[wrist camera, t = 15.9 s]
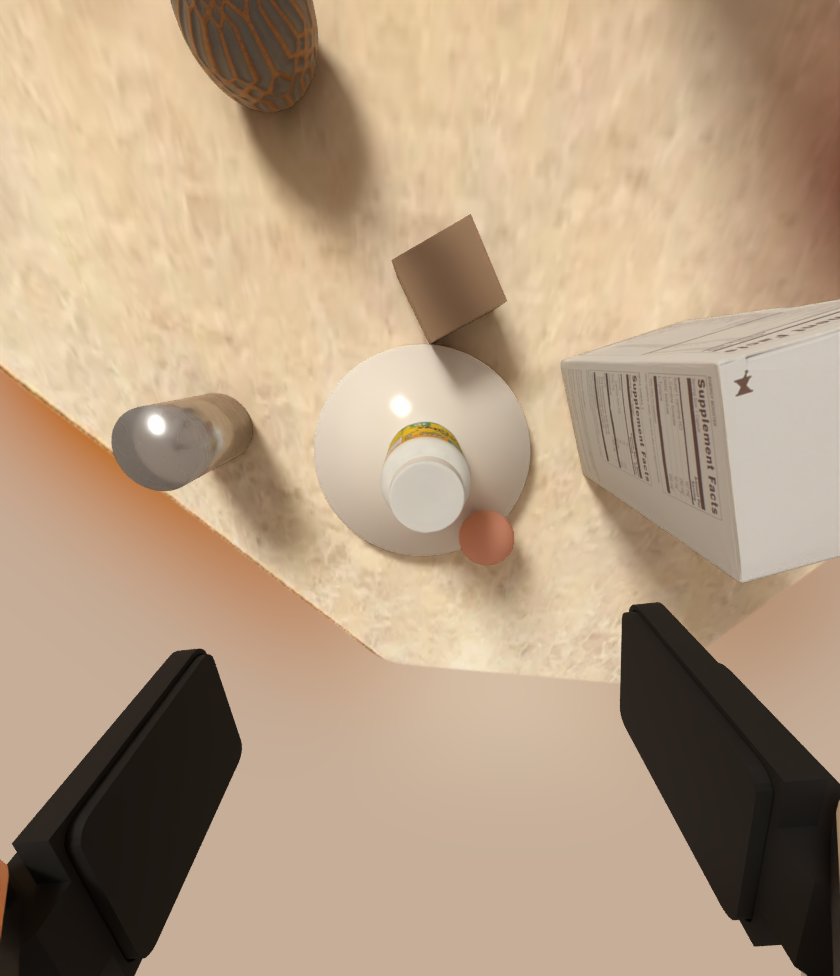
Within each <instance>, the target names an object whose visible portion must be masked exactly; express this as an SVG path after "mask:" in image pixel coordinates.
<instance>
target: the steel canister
mask: <svg viewBox="0 0 840 976" xmlns="http://www.w3.org/2000/svg"><path fill="white" fill-rule="evenodd" d="M252 434H253V428H252V422H251V419H250V417H249V415H248V413H247V411H246V410H245V408H244V407H243V406H242V405H241V404H240V403H239V402H238V401H236V400H235V399H233V398H231V397H229V396H227V395H224V394H219V393H211V394H205V395H200V396H194V397H189V398H184V399H179V400H173V401H168V402H163V403H158V404H152V405H147V406H142V407H137V408H134V409H131V410H129V411H127V412H126V413H124V414H123V415H122V416H121V417H120V418H119V419H118V421H117V422H116V424H115V426H114V429H113V432H112V449H113V453H114V456H115V459H116V461H117V462H118V464H119V466H120V467H121V469H122V470H123V471H124V472H125V473H126V475H127V476H128V477H130V478H131V479H132V480H133V481H135V482H136V483H138V484H140V485H142V486H144V487H146V488H149V489H152V490H157V491H170V490H175V489H178V488H180V487H182V486H184V485H186V484H188V483H190V482H191V481H193V480H195V479H197V478H199V477H200V476H202V475H204V474H206V473H208V472H209V471H211V470H213V469H215V468H217V467H218V466H220V465H222V464H224V463H226V462H227V461H229V460H231V459H233V458H235V457H236V456H238V455H240V454H241V453H243V452H244V451H245V450H246V449H247V447H248V446H249V444H250V442H251V439H252Z"/></svg>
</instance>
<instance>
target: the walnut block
mask: <svg viewBox="0 0 840 976" xmlns="http://www.w3.org/2000/svg"><path fill="white" fill-rule="evenodd" d="M392 263H393V266H394V269H395V272H396V275H397V278H398V280H399V282H400V284H401V286H402V288H403V290H404V292H405V294H406V296H407V298H408V301H409V303H410V305H411V307H412V309H413V311H414V313H415V315H416V317H417V319H418V321H419V323H420V325H421V328H422V330H423V332H424V334H425V336H426V338H427V340H428V342H429V344H432V343H434V342H436V341H437V340H439V339H441V338H443V337H445V336H447V335H448V334H450V333H452V332H454V331H456V330H458V329H459V328H461V327H463V326H465V325H467V324H469V323H471V322H472V321H474V320H476V319H478V318H480V317H482V316H483V315H485V314H487V313H489V312H491V311H493V310H494V309H496V308H497V307H499V306H500V305H502V304H503V303H505V302H506V301H507V300H506V297H505V295H504V293H503V290H502V288H501V285H500V283H499V281H498V278H497V276H496V273H495V271H494V269H493V266H492V264H491V261H490V259H489V257H488V254H487V252H486V249H485V247H484V245H483V242H482V240H481V238H480V235H479V233H478V230H477V228H476V226H475V223H474V221H473V218H472V216H471V214H470V215H468V216H467V217H465V218H463V219H461V220H460V221H458V222H456V223H455V224H453V225H451V226H449V227H448V228H446V229H444V230H443V231H441V232H439V233H437V234H436V235H434V236H432V237H431V238H429V239H427V240H425V241H424V242H422V243H420V244H419V245H417V246H415V247H413V248H412V249H410V250H408V251H407V252H405V253H403V254H401V255H400V256H398V257H396V258H395V259H393V260H392Z"/></svg>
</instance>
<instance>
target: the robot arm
mask: <svg viewBox="0 0 840 976" xmlns="http://www.w3.org/2000/svg"><path fill="white" fill-rule="evenodd" d="M620 712H621V716H622V720H623V723H624V726H625V728H626V729H627V731H628V733H629V735H630V737H631V739H632V741H633V743H634V744H635V746H636V748H637V750H638V752H639V754H640V756H641V758H642V759H643V761H644V763H645V765H646V767H647V769H648V770H649V772H650V774H651V776H652V778H653V780H654V782H655V784H656V785H657V787H658V789H659V791H660V793H661V795H662V797H663V798H664V800H665V802H666V804H667V806H668V808H669V810H670V811H671V813H672V815H673V817H674V819H675V821H676V823H677V824H678V826H679V828H680V830H681V832H682V834H683V836H684V838H685V839H686V841H687V843H688V845H689V847H690V849H691V851H692V852H693V854H694V856H695V858H696V860H697V862H698V864H699V865H700V867H701V869H702V871H703V873H704V875H705V876H706V878H707V880H708V882H709V884H710V886H711V888H712V890H713V892H714V893H715V895H716V897H717V899H718V901H719V903H720V905H721V906H722V908H723V910H724V911H725V913H726V914H727V915H728V917H730V918H731V919H732V920H740V922H741V924H742V926H743V927H744V929H745V931H746V933H747V934H748V936H749V938H750V940H751V942H752V943H753V945H754V946H768V945H769V946H770V945H782V946H783V948H784V950H785V951H786V953H787V955H788V956H789V958H790V960H791V961H792V963H793V965H794V966H795V967H796V968H798V969H799V970H800V971H801V976H840V784H839V783H838V782H837V781H836V779H835V778H834V777H833V776H832V775H831V774H830V773H829V772H828V771H827V770H826V769H825V768H824V767H823V766H822V765H821V764H820V763H819V762H818V761H817V760H816V759H815V758H814V757H813V756H812V755H811V754H810V753H809V752H808V751H807V749H806V748H805V747H804V746H803V745H802V744H801V743H800V742H799V741H798V740H797V739H796V738H795V737H794V736H793V735H792V734H791V733H790V732H789V731H788V730H787V729H786V728H785V727H784V726H783V725H782V724H781V723H780V722H779V721H778V719H776V717H775V716H774V715H773V714H772V713H771V712H770V711H769V710H768V709H767V708H766V707H765V706H764V705H763V704H762V703H761V702H760V701H759V700H758V699H757V698H756V697H755V696H754V695H753V693H752V692H751V691H750V690H749V689H747V687H746V686H745V685H744V684H743V683H742V682H741V681H740V680H739V679H738V678H737V677H736V676H735V675H734V674H733V673H732V672H731V671H730V670H729V669H728V668H726V667H725V666H724V665H723V664H720V663H718V662H717V661H716V660H715V659H714V658H713V657H712V656H711V655H710V654H709V653H708V652H707V650H706V649H705V648H704V647H703V646H702V645H701V644H700V643H699V642H698V641H697V640H696V639H695V638H694V637H693V636H692V635H691V634H690V633H689V632H688V630H687V629H686V628H685V627H684V626H683V625H682V624H681V623H680V622H679V621H678V620H677V619H676V618H675V617H674V616H673V615H672V614H671V613H670V612H669V610H668V609H667V608H666V607H665V606H664V605H662V604H661V603H658V602H656V603H646V604H637V605H632V606H631V607H630V609H629V612H626V613H623V616H622V642H621V684H620ZM241 751H242V743H241V739H240V737H239V733H238V730H237V728H236V724H235V721H234V719H233V716H232V712H231V709H230V707H229V704H228V701H227V697H226V694H225V691H224V688H223V685H222V682H221V680H220V677H219V673H218V670H217V667H216V664H215V661H214V659H213V657H212V656H211V655H208V654H206V652H205V651H204V650H203V649H191V650H181V651H176V652H174V653H173V654H172V655H170V657H169V658H168V659H167V660H166V661H165V663H164V664H163V665H162V666H161V667H160V668H159V670H158V671H157V672H156V673H155V674H154V676H153V677H152V678H151V679H150V680H149V682H148V683H147V684H146V685H145V686H144V688H143V689H142V690H141V691H140V692H139V693H138V695H137V696H136V697H135V698H134V699H133V700H132V702H131V703H130V704H129V705H128V706H127V708H126V709H125V710H124V711H123V712H122V714H121V715H120V716H119V717H118V718H117V719H116V721H115V722H114V723H113V724H112V726H111V727H110V728H109V729H108V730H107V731H106V733H105V734H104V735H103V736H102V737H101V739H100V740H99V741H98V742H97V744H96V745H95V746H94V747H93V748H92V749H91V750H90V752H89V753H88V754H87V755H86V756H85V758H84V759H83V760H82V761H81V762H80V763H79V765H78V766H77V767H76V768H75V769H74V771H73V772H72V773H71V774H70V775H69V777H68V778H67V779H66V780H65V781H64V782H63V784H62V785H61V786H60V787H59V788H58V790H57V791H56V792H55V793H54V794H53V795H52V797H51V798H50V799H49V800H48V801H47V803H46V804H45V805H44V806H43V807H42V809H41V810H40V811H39V812H38V813H37V814H36V816H35V817H34V818H33V820H31V822H30V823H29V824H28V825H27V826H26V828H25V829H24V830H23V831H22V832H21V834H20V835H19V836H18V837H17V838H16V839H15V841H14V842H13V843H12V845H13V846H14V848H15V850H16V851H17V853H16V854H15V855H14V857H13V858H12V859H11V860H10V862H9V863H8V864H5V863H4V862H3V861H1V860H0V976H134V975H135V973H136V971H137V969H138V967H139V965H140V963H141V960H142V958H146V957H147V956H148V955H149V954H150V953H151V951H152V950H153V948H154V947H155V945H156V943H157V941H158V938H159V936H160V934H161V932H162V929H163V927H164V925H165V923H166V921H167V919H168V916H169V914H170V912H171V910H172V907H173V905H174V903H175V901H176V899H177V897H178V894H179V892H180V890H181V888H182V886H183V883H184V881H185V879H186V877H187V875H188V872H189V870H190V868H191V866H192V864H193V862H194V859H195V857H196V855H197V853H198V850H199V848H200V846H201V844H202V842H203V840H204V837H205V835H206V833H207V831H208V829H209V826H210V824H211V822H212V820H213V817H214V815H215V813H216V811H217V809H218V807H219V804H220V802H221V800H222V798H223V795H224V793H225V791H226V789H227V787H228V785H229V782H230V780H231V778H232V776H233V773H234V771H235V769H236V767H237V765H238V763H239V760H240V757H241Z"/></svg>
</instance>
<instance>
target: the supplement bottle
mask: <svg viewBox="0 0 840 976" xmlns="http://www.w3.org/2000/svg"><path fill="white" fill-rule="evenodd" d="M380 485H381V491H382V495H383V497H384V500H385V502H386V503H387V505H388V506H389V508H390V509H391V510H392V512H393V514H394V516H395V517H396V519H397V520H398V521H399V522H400V523H401V524H402V525H404V526H405V527H407V528H409V529H411V530H413V531H416V532H420V533H433V532H437V531H441V530H443V529H445V528H447V527H448V526H450V525H451V524H452V523H454V522H455V520H456V519H457V518H458V517H459V515H460V514H461V511H462V509H463V506H464V504H465V502H466V501H467V498H468V496H469V493H470V489H471V472H470V468H469V466H468V463H467V461H466V459H465V457H464V454H463V452H462V450H461V448H460V445H459V443H458V441H457V439H456V438H455V436H454V435H453V434H452V433H451V432H450V431H449V430H448V429H447V428H445V427H444V426H442V425H440V424H438V423H434V422H416V423H412V424H409V425H407V426H405V427H404V428H402V429H401V430H400V431H398V433H397V434H396V435H395V436H394V438H393V439H392V441H391V443H390V446H389V449H388V452H387V455H386V458H385V461H384V464H383V467H382V472H381V477H380Z"/></svg>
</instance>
